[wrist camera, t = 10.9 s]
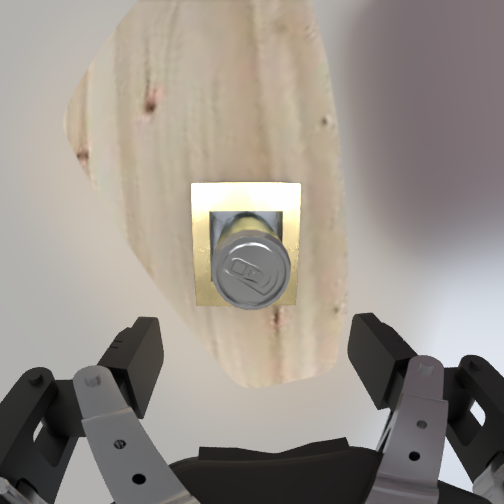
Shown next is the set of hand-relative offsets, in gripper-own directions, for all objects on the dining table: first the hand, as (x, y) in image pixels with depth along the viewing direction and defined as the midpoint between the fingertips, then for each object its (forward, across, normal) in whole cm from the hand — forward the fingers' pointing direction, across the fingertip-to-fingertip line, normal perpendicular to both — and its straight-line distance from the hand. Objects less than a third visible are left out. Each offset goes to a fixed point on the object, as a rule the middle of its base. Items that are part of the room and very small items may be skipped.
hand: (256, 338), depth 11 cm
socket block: (+20, 0, 0) cm, 20 cm away
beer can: (+19, 0, 0) cm, 19 cm away
